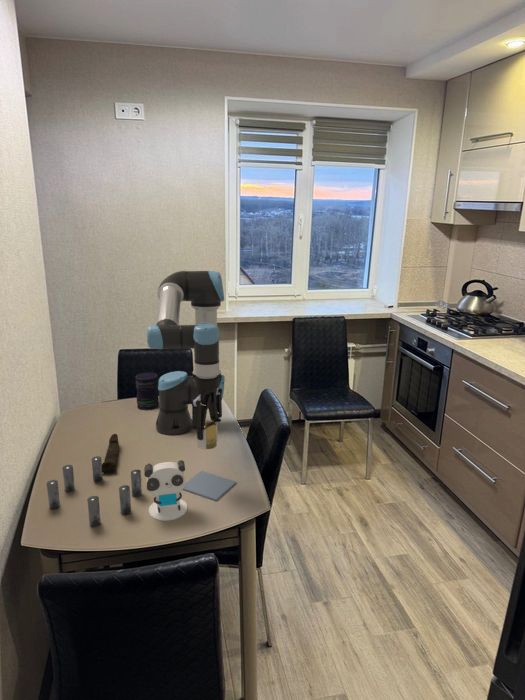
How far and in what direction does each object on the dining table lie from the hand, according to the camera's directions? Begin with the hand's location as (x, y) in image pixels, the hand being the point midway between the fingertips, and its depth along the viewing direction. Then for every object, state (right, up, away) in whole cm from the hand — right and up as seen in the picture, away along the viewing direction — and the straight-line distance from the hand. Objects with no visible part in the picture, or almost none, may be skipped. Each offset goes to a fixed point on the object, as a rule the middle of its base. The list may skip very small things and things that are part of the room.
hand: (207, 444), depth 151 cm
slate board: (0, -15, +4) cm, 15 cm away
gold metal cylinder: (0, 0, 0) cm, 0 cm away
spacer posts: (-34, -16, -5) cm, 38 cm away
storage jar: (-36, +4, +69) cm, 77 cm away
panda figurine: (-11, -18, -9) cm, 23 cm away
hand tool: (-38, -10, +21) cm, 44 cm away
